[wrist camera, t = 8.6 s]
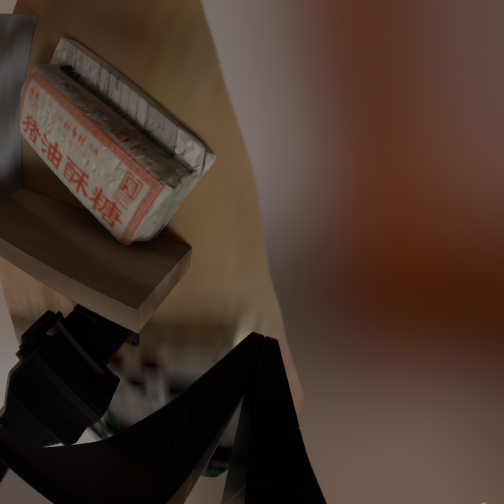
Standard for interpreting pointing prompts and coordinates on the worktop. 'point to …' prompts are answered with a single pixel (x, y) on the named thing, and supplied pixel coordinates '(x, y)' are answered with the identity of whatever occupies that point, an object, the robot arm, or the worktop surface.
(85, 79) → the packaged product
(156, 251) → the brown piece
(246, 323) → the worktop surface
